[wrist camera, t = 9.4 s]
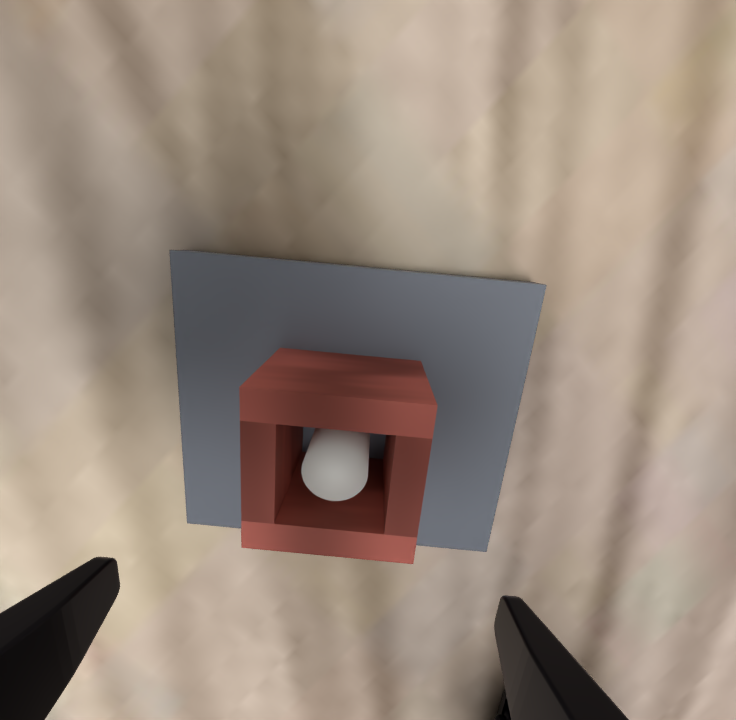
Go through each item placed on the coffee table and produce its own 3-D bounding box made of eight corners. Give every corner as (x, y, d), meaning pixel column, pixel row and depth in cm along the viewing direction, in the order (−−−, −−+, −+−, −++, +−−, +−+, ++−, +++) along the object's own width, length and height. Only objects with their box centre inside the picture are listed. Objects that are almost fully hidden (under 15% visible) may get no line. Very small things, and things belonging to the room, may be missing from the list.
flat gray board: (532, 282, 17) (611, 297, 11) (479, 531, 21) (516, 637, 15) (187, 250, 17) (88, 249, 11) (200, 504, 21) (132, 600, 15)
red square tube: (420, 360, 16) (437, 405, 12) (404, 482, 18) (413, 564, 14) (280, 347, 17) (239, 386, 12) (277, 470, 18) (241, 547, 14)
